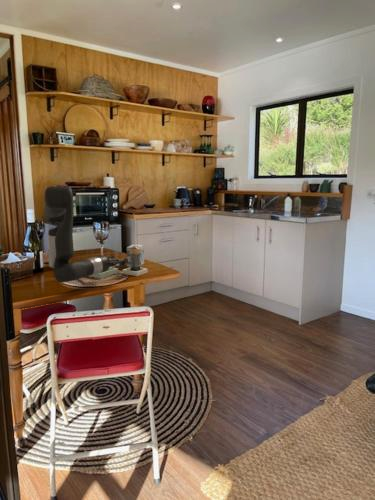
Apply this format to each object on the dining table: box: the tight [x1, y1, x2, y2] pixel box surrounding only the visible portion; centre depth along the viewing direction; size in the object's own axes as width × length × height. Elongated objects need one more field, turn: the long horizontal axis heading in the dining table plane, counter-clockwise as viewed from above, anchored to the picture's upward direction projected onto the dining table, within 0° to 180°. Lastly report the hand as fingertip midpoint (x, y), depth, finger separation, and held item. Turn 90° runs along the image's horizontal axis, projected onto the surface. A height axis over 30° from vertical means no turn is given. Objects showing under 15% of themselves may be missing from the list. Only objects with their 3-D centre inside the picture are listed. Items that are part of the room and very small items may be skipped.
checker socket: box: [122, 266, 149, 277], centre depth 190 cm, size 9×9×2 cm
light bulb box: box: [126, 243, 145, 268], centre depth 207 cm, size 11×7×11 cm, turn 168°
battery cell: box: [129, 246, 141, 272], centre depth 189 cm, size 5×5×14 cm
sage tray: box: [89, 267, 119, 280], centre depth 187 cm, size 13×13×2 cm
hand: (120, 259), depth 179 cm, fingers open, 8 cm apart
